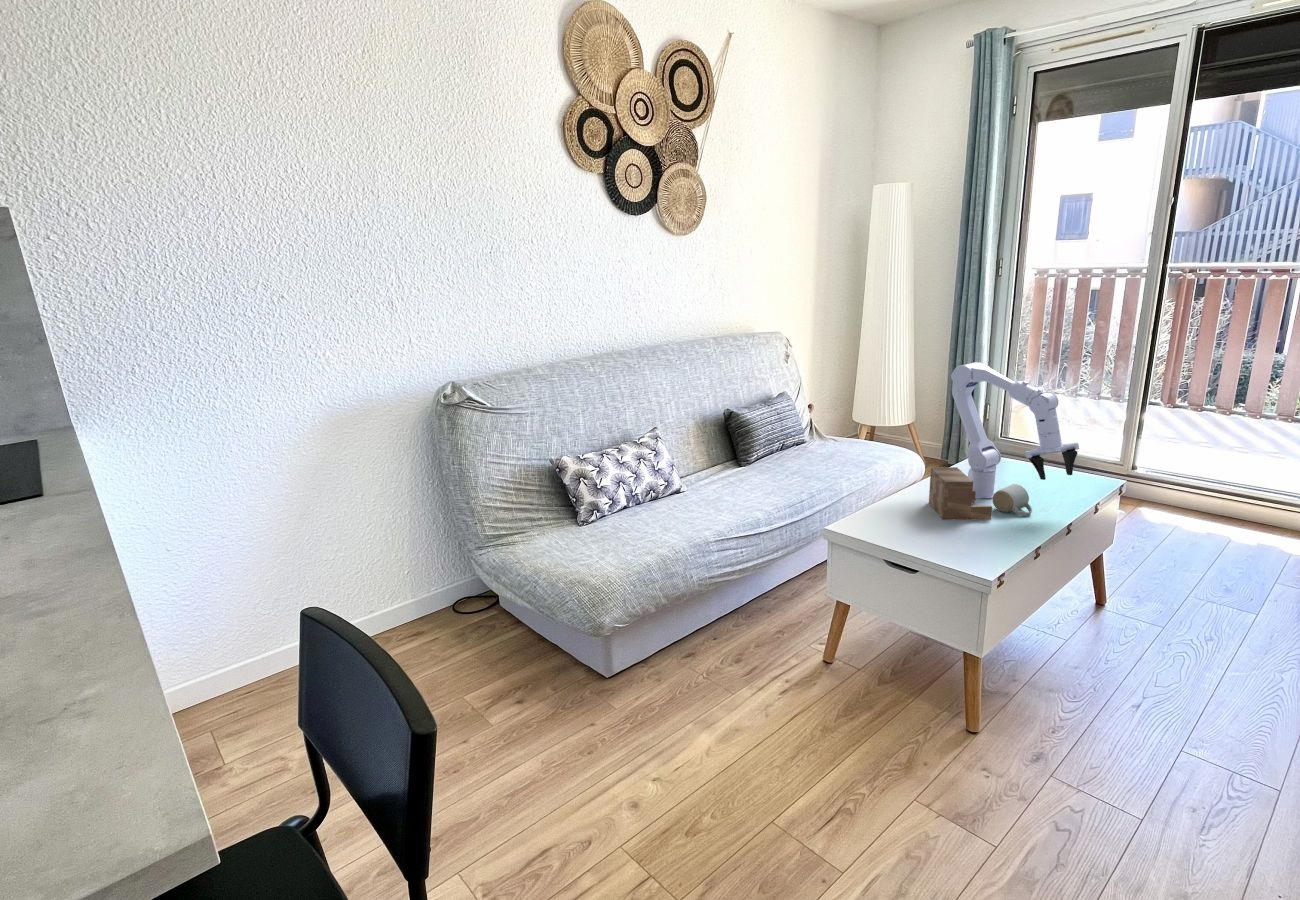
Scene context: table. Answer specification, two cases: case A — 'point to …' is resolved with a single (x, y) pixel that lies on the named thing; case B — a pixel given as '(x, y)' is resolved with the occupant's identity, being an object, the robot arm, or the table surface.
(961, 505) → the stepped wooden block
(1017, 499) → the ceramic mug
